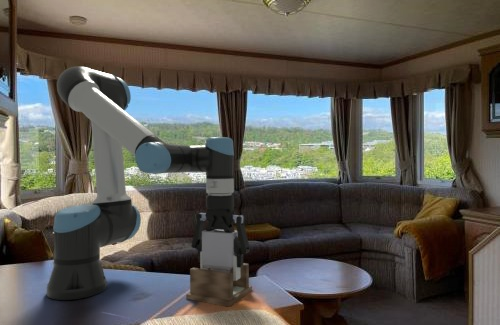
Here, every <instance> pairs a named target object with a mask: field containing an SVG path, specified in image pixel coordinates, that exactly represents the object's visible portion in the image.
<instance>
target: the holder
mask: <svg viewBox="0 0 500 325" xmlns="http://www.w3.org/2000/svg"><path fill="white" fill-rule="evenodd" d="M249 268H250V264H249V263H245V262H243V266H242V267H241V268H240V279H238V280H236V281H234V280H233V268H232V269H231V270H230V273H228V272H221V271H214V270H210V268H208V270H207V269H200V268H199V267H192V268H190V269H189V284H190V285H189V292H188V293H186V297H185V299H186V300H192V301H196V302H202V303H206V304H213V305H218V306H224V307H228V308H230V307H232V306H233V305H234V304H236V303H238V301H240V300H241V299H242V298H244V297H245V296H247V295H248V294H249V293H250V292H252V291H253V285H250V280H249V279H250V276H249V274H250V273H249V272H250V269H249Z"/></svg>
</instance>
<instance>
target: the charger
mask: <svg viewBox="0 0 500 325" xmlns="http://www.w3.org/2000/svg"><path fill="white" fill-rule="evenodd" d="M234 231H235V232H232V233H226V232H225V231H224V229H219V228H217V229H215V230H212V231H206V229H205V230H204V229H203V231H202V238H201V239H202V264H203V265H204V266H205V267H206V268H208V269H209V268H210V270H214V271H221V272H228V273H230V270H231V269H232V268H233V256H234V255H236V253H235V251H234V239H235V237H236V236H237V237H238V238H239V236H238V232H237V229H234Z"/></svg>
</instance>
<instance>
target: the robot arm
mask: <svg viewBox="0 0 500 325" xmlns="http://www.w3.org/2000/svg"><path fill="white" fill-rule="evenodd" d="M56 89H57V90H56V91H57V94H58V95H59V98H61V100H62V101H63V102H64V104H66V105H67V106H68V108H70V109H71V110H73V111H75V112H79V113H83V115H85V117H86V118H87V119H88V120H89V121H91V132H92V146H93V147H92V148H93V159H94V160H93V161H94V171H95V172H94V173H95V174H94V175H95V186H96V187H95V188H96V195H97V196H96V198H95V199H94V200H93V201H92V203H91V204H80V205H72V206H68V207H66V208H62V209H59V211H57V212H56V213H55V215H54V221H53V222H54V223H53V226H52V228H53V268H52V271H51V274H50V277H49V281H48V284H47V285H46V296H47V297H48V298H49V299H52V300H57V301H58V300H59V301H69V300H78V299H83V298H88V297H92V296H96V295H98V294H100V293H102V292H104V291H105V290H106V289H107V277H106V275H105V271H104V269H103V266H102V263H101V258H100V256H101V253H100V252H101V250H100V248H103V247H107V246H111V245H113V244H120V243H123V242H125V241H128V240H130V239H132V238H133V237H135V236H136V234H137V233H138V231H139V230H140V227H141V223H142V222H141V221H142V219H141V213H140V210H139V209H138V208H137V207H136V206H135V205H134V204H133V202H132V200H133V199H132V197H131V196H129V194H127V192H126V191H127V190H126V189H127V188H126V177H125V166H124V165H125V164H124V153H123V152H124V151H123V148H124V149H125V150H127V151H128V152H129V153H130V154H132V156H134V161H135V164H136V165H137V166H136V167H137V168H138V169H139V171H141V172H143V173H146V174H152V175H161V174H172V173H173V174H174V173H175V174H178V173H205V177H206V178H205V186H206V187H205V189H206V190H205V192H206V194H207V195H206V196H205V207H206V208H205V209H206V211H205V212H199V213H197V214H196V215H195V217H196V224H195V229H194V231H193V232H194V234H193V238H192V242H191V248H192V249H195V250H197V261H198V263H200V264H199V265H200V266H199V267H200V269H207V270H209V268H206V267H205V266H204V265H203V264H202V231H204V228H205V230H206V231H212V230H215V229H219V230H224V231H225V232H226V233H232V232H235V231H234V230H235V227H236V231H237V232H238V237H237V236H236V237H235V239H234V251H235V253H236V255H234V256H233V280H234V281H236V280H238V279H240V268H241V267H242V266H243V263H244V255H246V254H247V253H249V252H250V251H251V247H250V244H249V243H250V242H249V240H248V235H247V231H246V226H245V218H246V217H245V215H244V214H240V215H237V214H235V212H234V208H235V206H234V205H235V196H234V195H233V193H234V192H235V186H234V185H235V184H234V182H235V179H234V167H235V166H234V163H235V162H234V161H235V160H234V159H235V153H234V150H235V149H234V141H233V139H232V138H231V137H225V136H224V137H223V136H212V137H207V138H206V139H205V144H203V145H193V144H192V145H187V144H186V145H185V144H174V143H173V144H172V143H166V142H164V141H163V140H162V139H161V138H159V137H158V136H157V135H156V134H155V133H153V132H152V131H151V130H150V129H148V128H147V127H145V126H144V125H143V124H142V123H140V121H138V120H137V119H136V118H134V117H133V116H132V115H130V114H129V113H128V112H126V111H125V110H127V109H128V107H129V104H130V103H131V91H130V87H129V86H128V84H127V82H126V81H125V80H123V79H122V78H120V77H118V76H116V75H114V74H111V73H106V72H104V71H103V72H102V71H99V70H96V69H93V68H92V69H91V68H90V67H86V66H78V65H77V66H71V67H69V68H67V69H65V70H63V71H62V72H61V74H60V75H59V77H58V79H57V81H56ZM206 220H207V221H208V223H207V225H206V224H205V223H206ZM233 221H234V223H235V226H234V224H233ZM205 225H206V227H205Z"/></svg>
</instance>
